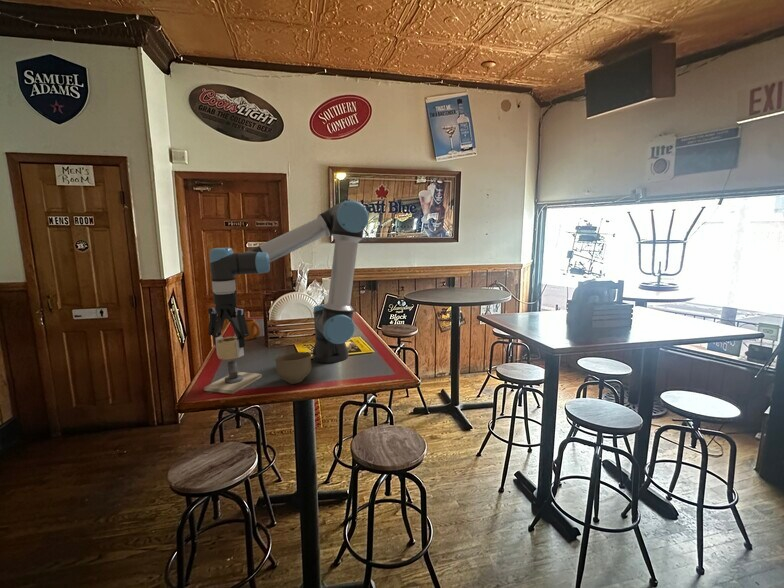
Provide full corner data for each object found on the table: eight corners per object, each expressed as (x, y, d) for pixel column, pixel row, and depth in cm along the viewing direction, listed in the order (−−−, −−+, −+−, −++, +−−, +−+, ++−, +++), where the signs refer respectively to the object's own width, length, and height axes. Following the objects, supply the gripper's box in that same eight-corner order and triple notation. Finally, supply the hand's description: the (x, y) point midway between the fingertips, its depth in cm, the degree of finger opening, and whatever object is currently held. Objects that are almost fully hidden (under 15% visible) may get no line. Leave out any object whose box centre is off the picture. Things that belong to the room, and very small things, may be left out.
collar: (247, 353, 149) (245, 337, 148) (232, 360, 141) (230, 343, 140) (229, 351, 151) (227, 336, 150) (213, 358, 144) (211, 341, 143)
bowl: (310, 373, 156) (308, 348, 154) (315, 385, 144) (313, 357, 142) (276, 378, 152) (273, 352, 150) (278, 390, 140) (275, 362, 138)
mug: (251, 341, 203) (249, 324, 202) (235, 339, 209) (233, 322, 208) (265, 336, 211) (263, 319, 209) (249, 334, 217) (247, 318, 215)
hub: (261, 377, 154) (259, 356, 152) (232, 393, 139) (230, 370, 137) (235, 374, 158) (233, 353, 156) (204, 390, 143) (201, 368, 141)
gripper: (256, 291, 143) (261, 354, 146) (208, 290, 149) (214, 350, 153) (242, 295, 136) (248, 360, 139) (192, 293, 142) (199, 356, 146)
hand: (230, 355), depth 146 cm, fingers closed on collar, 8 cm apart
